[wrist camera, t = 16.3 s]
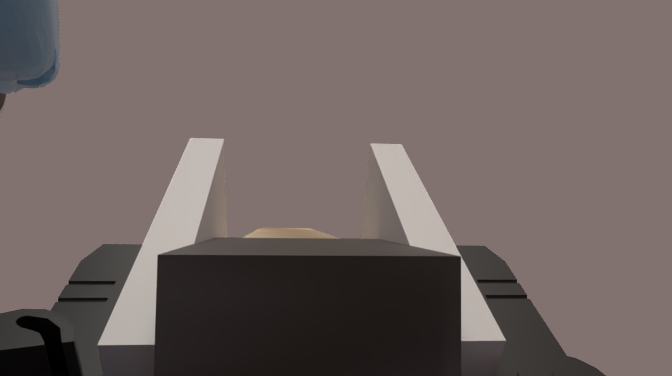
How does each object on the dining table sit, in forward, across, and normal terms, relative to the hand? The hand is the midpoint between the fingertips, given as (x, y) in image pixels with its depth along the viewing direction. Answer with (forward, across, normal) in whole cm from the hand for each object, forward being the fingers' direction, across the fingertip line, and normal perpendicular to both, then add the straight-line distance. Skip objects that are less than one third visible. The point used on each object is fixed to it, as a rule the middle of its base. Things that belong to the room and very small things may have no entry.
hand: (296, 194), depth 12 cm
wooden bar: (+3, 0, -7) cm, 8 cm away
